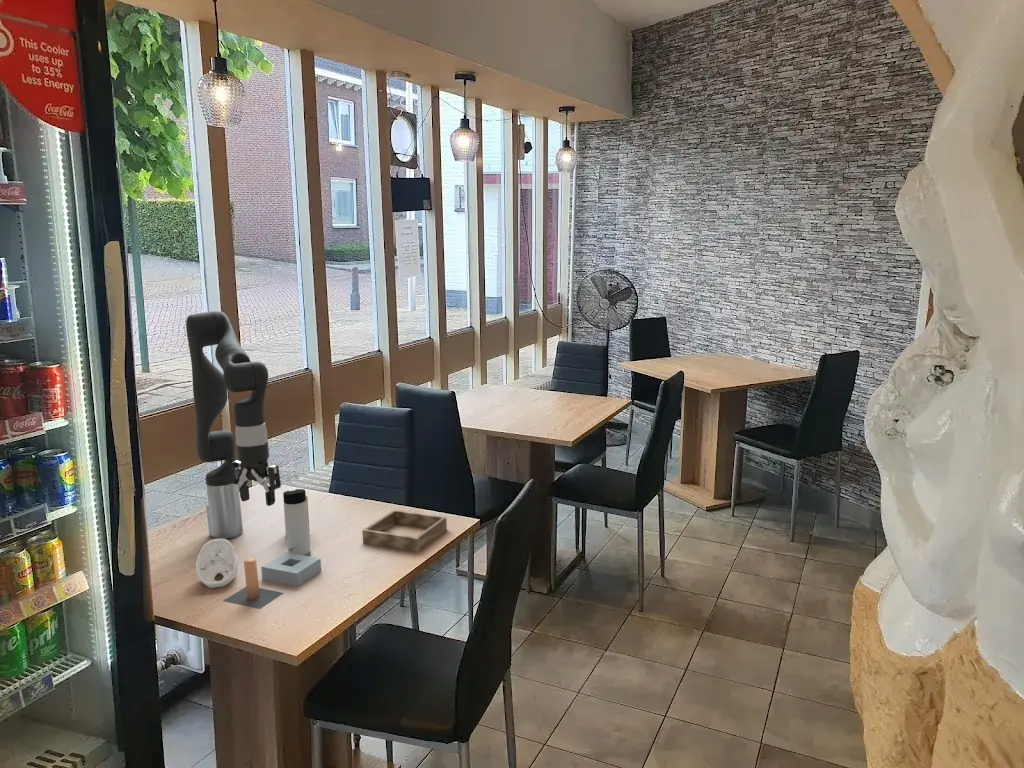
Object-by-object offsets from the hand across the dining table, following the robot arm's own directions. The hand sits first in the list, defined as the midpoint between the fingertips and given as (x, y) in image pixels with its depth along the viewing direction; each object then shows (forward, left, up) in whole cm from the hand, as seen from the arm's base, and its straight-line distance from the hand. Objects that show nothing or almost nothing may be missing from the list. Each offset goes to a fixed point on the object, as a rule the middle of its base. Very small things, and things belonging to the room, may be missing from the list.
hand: (258, 502), depth 195 cm
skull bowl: (-18, +2, -25) cm, 31 cm away
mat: (-1, -3, -25) cm, 25 cm away
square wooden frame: (+15, +46, -25) cm, 54 cm away
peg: (-1, -3, -25) cm, 25 cm away
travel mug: (-7, +23, -25) cm, 35 cm away
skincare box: (-18, +36, -25) cm, 47 cm away
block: (0, +11, -25) cm, 27 cm away
